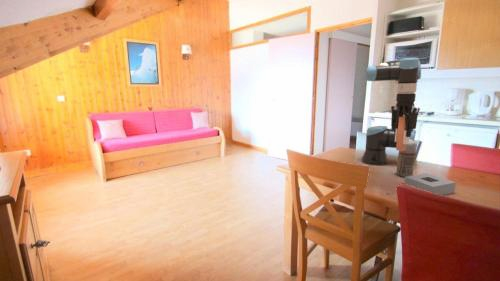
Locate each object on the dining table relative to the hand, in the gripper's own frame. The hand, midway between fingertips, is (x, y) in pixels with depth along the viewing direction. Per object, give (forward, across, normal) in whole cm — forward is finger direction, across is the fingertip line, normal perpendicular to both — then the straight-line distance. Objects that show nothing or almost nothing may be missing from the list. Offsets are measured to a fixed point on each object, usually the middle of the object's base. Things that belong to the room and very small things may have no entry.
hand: (401, 142), depth 123 cm
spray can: (+22, -10, +16) cm, 29 cm away
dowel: (+4, 0, 0) cm, 4 cm away
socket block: (+22, +9, +9) cm, 25 cm away
